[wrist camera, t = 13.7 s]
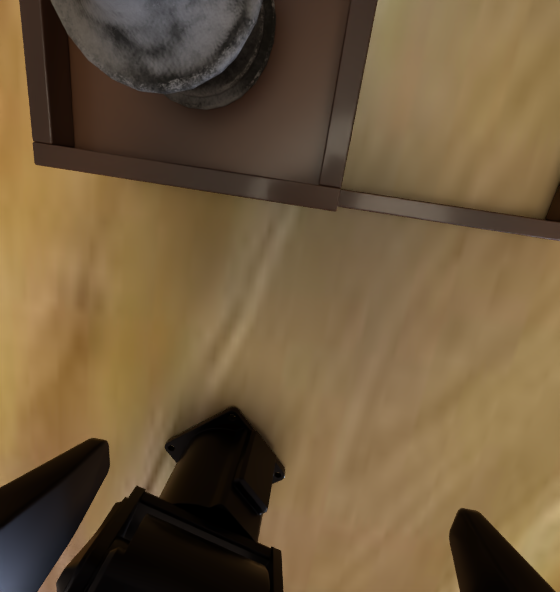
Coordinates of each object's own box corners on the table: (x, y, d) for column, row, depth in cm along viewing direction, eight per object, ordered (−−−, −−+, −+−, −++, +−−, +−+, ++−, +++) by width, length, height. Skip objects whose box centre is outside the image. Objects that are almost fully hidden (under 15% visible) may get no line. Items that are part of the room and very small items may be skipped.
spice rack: (125, 172, 18) (34, 164, 12) (122, -89, 15) (-9, -273, 9) (554, 238, 17) (679, 265, 11) (667, -34, 13) (946, -211, 7)
